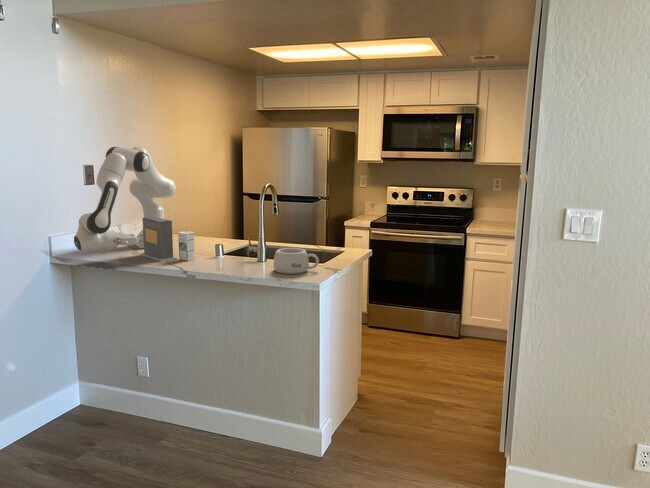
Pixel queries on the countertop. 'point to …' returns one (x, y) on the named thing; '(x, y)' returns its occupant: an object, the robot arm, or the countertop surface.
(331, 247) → the countertop surface
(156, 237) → the switch button
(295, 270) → the mug
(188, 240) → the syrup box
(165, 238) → the switch box
